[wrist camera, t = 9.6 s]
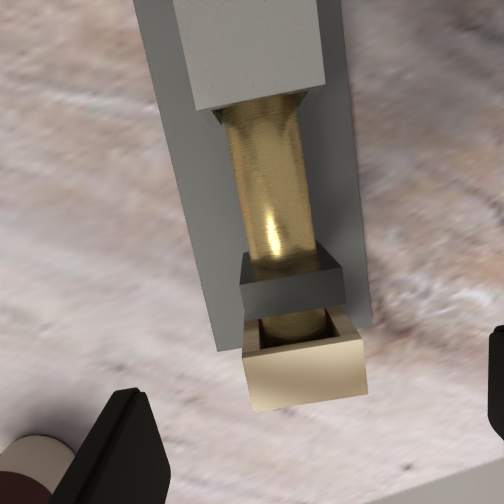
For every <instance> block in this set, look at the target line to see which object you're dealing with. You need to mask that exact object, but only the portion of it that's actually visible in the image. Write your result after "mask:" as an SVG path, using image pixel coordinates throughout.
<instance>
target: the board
mask: <svg viewBox="0 0 504 504" xmlns="http://www.w3.org/2000/svg"><path fill="white" fill-rule="evenodd" d="M133 3H134V7H135V11H136V15H137V19H138V24H139V28H140V32H141V36H142V40H143V44H144V48H145V53H146V57H147V61H148V65H149V69H150V73H151V78H152V82H153V86H154V90H155V94H156V98H157V102H158V107H159V111H160V115H161V119H162V123H163V127H164V132H165V136H166V140H167V144H168V148H169V152H170V156H171V161H172V165H173V169H174V173H175V177H176V181H177V186H178V190H179V194H180V198H181V202H182V206H183V210H184V215H185V219H186V223H187V227H188V231H189V235H190V240H191V244H192V248H193V252H194V256H195V260H196V264H197V269H198V273H199V277H200V281H201V285H202V289H203V294H204V298H205V302H206V306H207V310H208V314H209V318H210V323H211V327H212V331H213V335H214V339H215V343H216V348H217V352H220V351H226V350H232V349H238V348H243V330H244V312H245V311H244V306H243V301H242V296H241V292H240V287H239V282H240V274H241V265H242V257H243V253H244V252H249V250H248V244H247V239H246V234H245V229H244V224H243V219H242V214H241V208H240V203H239V198H238V193H237V188H236V183H235V178H234V172H233V167H232V162H231V157H230V152H229V147H228V142H227V136H226V131H225V127H219V128H212V127H211V126H210V125H209V124H208V123H207V122H206V120H205V119H204V118H203V117H202V116H201V115H200V114H199V113H198V112H197V111H196V107H195V102H194V98H193V93H192V88H191V83H190V79H189V74H188V69H187V65H186V60H185V55H184V51H183V46H182V41H181V37H180V32H179V27H178V23H177V18H176V13H175V8H174V4H173V0H133ZM316 4H317V13H318V22H319V30H320V39H321V48H322V57H323V65H324V74H325V83H326V84H325V85H324V87H323V88H322V89H321V90H320V91H319V93H318V94H317V95H316V96H315V97H314V99H313V100H312V101H311V102H310V103H309V105H308V106H307V107H306V108H305V109H304V110H300V111H299V112H297V113H298V120H299V128H300V135H301V142H302V149H303V157H304V164H305V171H306V178H307V186H308V193H309V200H310V207H311V214H312V222H313V229H314V236H315V240H317V241H318V242H319V243H320V244H321V245H322V246H323V247H324V248H325V249H326V250H327V251H328V253H329V254H330V255H331V256H332V257H333V258H334V259H335V260H336V261H337V262H338V263H339V264H340V265H341V266H342V268H343V277H344V285H345V294H346V302H347V304H344V305H340V306H341V307H342V309H343V310H344V312H345V313H346V315H347V316H348V318H349V319H350V321H351V322H352V324H353V325H354V327H355V328H356V329H359V328H365V327H371V326H372V319H371V308H370V298H369V288H368V278H367V268H366V257H365V247H364V237H363V227H362V217H361V206H360V196H359V186H358V176H357V166H356V155H355V145H354V135H353V125H352V115H351V104H350V94H349V84H348V74H347V64H346V53H345V43H344V33H343V23H342V13H341V2H340V0H316Z"/></svg>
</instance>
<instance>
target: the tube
mask: <svg viewBox="0 0 504 504" xmlns="http://www.w3.org/2000/svg"><path fill="white" fill-rule="evenodd" d="M221 111H222V116H223V121H224V126H225V131H226V136H227V142H228V147H229V152H230V157H231V162H232V167H233V172H234V178H235V183H236V188H237V193H238V198H239V203H240V208H241V214H242V219H243V224H244V229H245V234H246V239H247V244H248V250H249V252H244V253H243V257H242V265H241V274H240V282H239V287H240V292H241V296H242V301H243V306H244V311H245V316H246V320H247V321H250V320H255V319H261V318H262V321H263V327H264V332H265V337H266V342H267V347H268V348H273V347H279V346H285V345H291V344H297V343H303V342H309V341H315V340H321V339H328V338H329V337H328V330H327V323H326V316H325V308H326V307H332V306H338V305H344V304H347V302H346V294H345V285H344V277H343V268H342V266H341V265H340V264H339V263H338V262H337V261H336V260H335V259H334V258H333V257H332V256H331V255H330V254H329V253H328V251H327V250H326V249H325V248H324V247H323V246H322V245H321V244H320V243H319V242H318V241H317V240H315V236H314V229H313V222H312V214H311V207H310V200H309V193H308V186H307V178H306V171H305V164H304V157H303V149H302V142H301V135H300V128H299V120H298V113H297V106H296V99H295V93H293V94H288V95H284V96H279V97H274V98H269V99H264V100H259V101H254V102H249V103H244V104H239V105H234V106H229V107H224V108H221Z"/></svg>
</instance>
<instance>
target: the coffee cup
mask: <svg viewBox="0 0 504 504" xmlns="http://www.w3.org/2000/svg"><path fill="white" fill-rule="evenodd" d="M74 457H75V455H74V453H73V452H72V451H71V450H70V449H69V448H68V447H67V446H66V445H64V444H63V443H62V442H60V441H58V440H56V439H53V438H50V437H46V436H27V437H24V438H21V439H18V440H17V441H15V442H13V443H12V444H11V445H10V446H8V447H7V448H6V449H5V450H4V451H3V452H2V453H1V454H0V504H47V502H48V501H49V499H50V497H51V496H52V494H53V492H54V491H55V489H56V487H57V486H58V484H59V482H60V481H61V479H62V477H63V476H64V474H65V472H66V471H67V469H68V467H69V466H70V464H71V462H72V461H73V459H74Z"/></svg>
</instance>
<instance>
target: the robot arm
mask: <svg viewBox="0 0 504 504" xmlns="http://www.w3.org/2000/svg"><path fill="white" fill-rule="evenodd" d="M488 419H489V422H490V424H491V426H492V428H493V429H494V430H495V432H496V433H497V434H498V435H499V436H500V437H501V438H502V439H503V440H504V325H500V326H497V327H496V328H495V329H494V332H493V333H491V334H490V336H489V366H488ZM170 478H171V470H170V465H169V462H168V459H167V456H166V453H165V450H164V447H163V443H162V440H161V437H160V434H159V431H158V428H157V425H156V422H155V419H154V416H153V413H152V410H151V407H150V404H149V401H148V398H147V395H146V393H145V392H140V390H139V389H138V388H136V387H135V388H129V389H123V390H117V391H115V392H114V393H113V394H112V395H111V397H110V399H109V400H108V402H107V404H106V405H105V407H104V409H103V410H102V412H101V414H100V415H99V417H98V419H97V420H96V422H95V424H94V425H93V427H92V429H91V430H90V432H89V434H88V435H87V437H86V439H85V441H84V442H83V444H82V446H81V447H80V449H79V451H78V452H77V454H76V456H75V457H74V459H73V461H72V462H71V464H70V466H69V467H68V469H67V471H66V472H65V474H64V476H63V477H62V479H61V481H60V482H59V484H58V486H57V487H56V489H55V491H54V492H53V494H52V496H51V497H50V499H49V501H48V502H47V504H165V500H166V496H167V492H168V488H169V484H170Z"/></svg>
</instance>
